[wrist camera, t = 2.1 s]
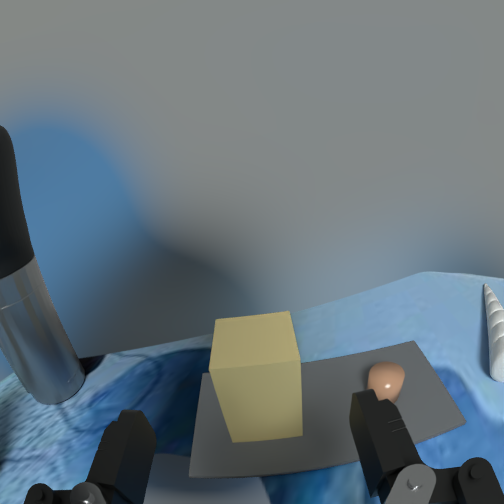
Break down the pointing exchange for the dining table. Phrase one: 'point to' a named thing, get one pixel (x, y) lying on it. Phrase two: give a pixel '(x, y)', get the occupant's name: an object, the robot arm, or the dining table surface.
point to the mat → (323, 417)
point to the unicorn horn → (495, 334)
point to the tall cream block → (258, 376)
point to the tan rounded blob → (386, 380)
